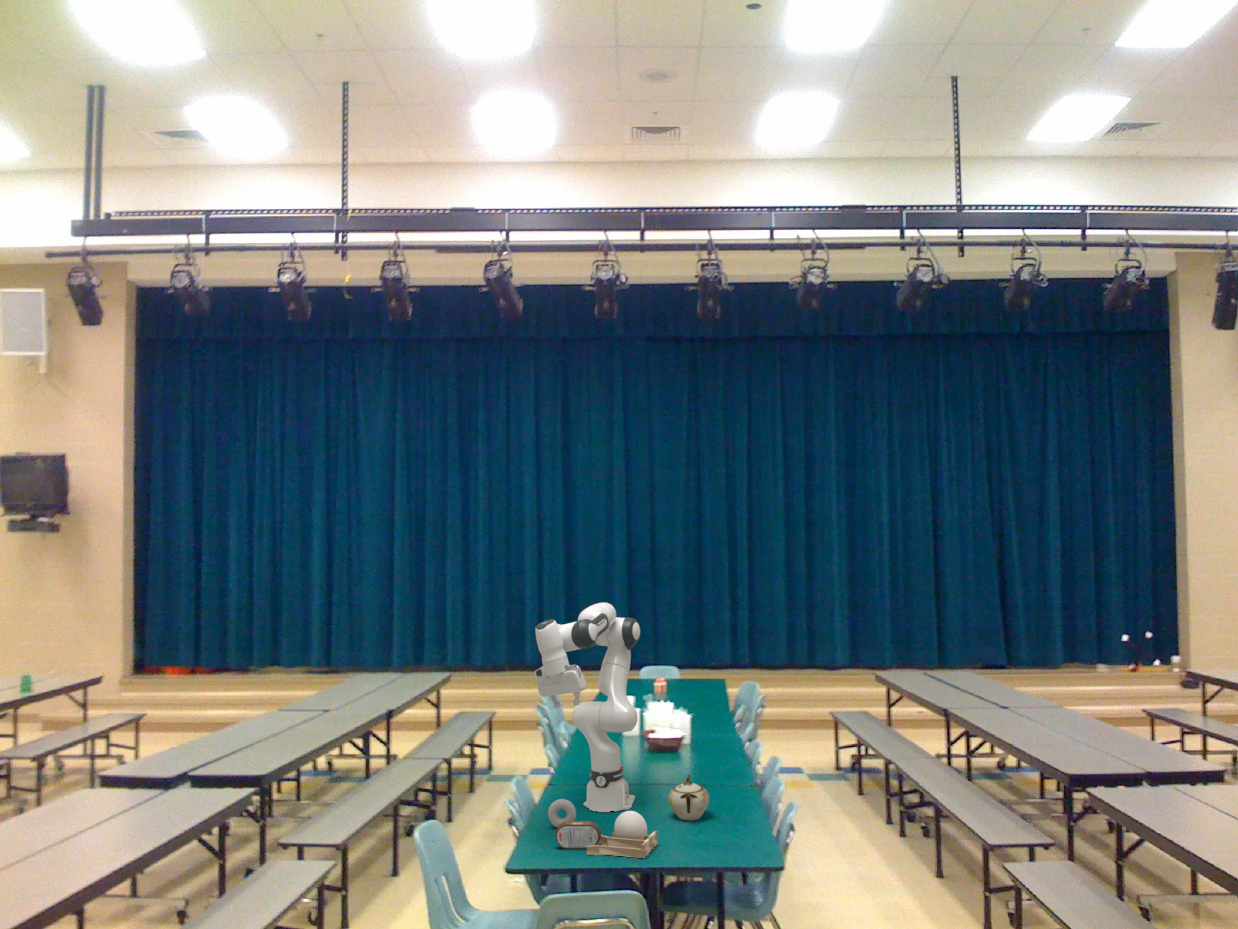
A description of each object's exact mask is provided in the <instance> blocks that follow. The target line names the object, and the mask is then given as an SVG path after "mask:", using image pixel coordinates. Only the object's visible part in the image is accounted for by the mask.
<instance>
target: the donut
mask: <svg viewBox="0 0 1238 929" xmlns="http://www.w3.org/2000/svg"><path fill="white" fill-rule="evenodd" d="M560 810H564V811H565V813H566V816H565V817H561V816H559V815H558V812H559V811H560ZM547 812H548V813H547V816H548V819H549V822H550V823H551V824H552V825H553V826H554V827H556V828H557V827H558V826H559V825H560V824H561V823H563V822H566V821H575V820H576V817H577V810H576V807H575V805H574V804H573V802H572V801H570V800H567V799H564V798H560V799H559V798H558V799H556V800H554V801H553V802H551V804H550V805H549V807H548V811H547Z"/></svg>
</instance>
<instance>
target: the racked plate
mask: <svg viewBox="0 0 1238 929" xmlns="http://www.w3.org/2000/svg"><path fill="white" fill-rule="evenodd" d="M647 824H648V823H647V822H646V820H645V818H644V817H643V816H642V815H641V814H640V813H639V812H637V811H635V810H625V811H624V812H621V813H620V814H619V815H618V816H617V817H616V819H615V822H614V825H613V826H614V827H613V828H614V829H613V830H614V832H615V834H616V836H617V838H628V839H640V840H644V839H645V837H646V835H648V825H647Z"/></svg>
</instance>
